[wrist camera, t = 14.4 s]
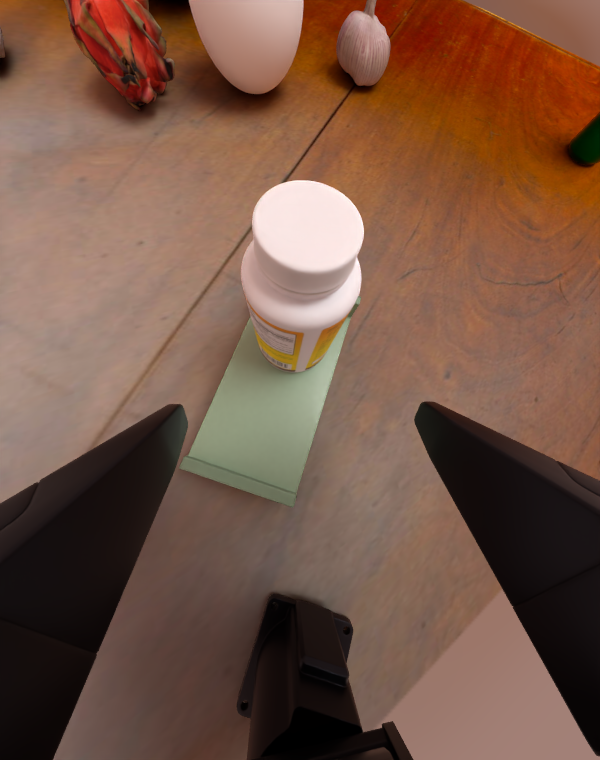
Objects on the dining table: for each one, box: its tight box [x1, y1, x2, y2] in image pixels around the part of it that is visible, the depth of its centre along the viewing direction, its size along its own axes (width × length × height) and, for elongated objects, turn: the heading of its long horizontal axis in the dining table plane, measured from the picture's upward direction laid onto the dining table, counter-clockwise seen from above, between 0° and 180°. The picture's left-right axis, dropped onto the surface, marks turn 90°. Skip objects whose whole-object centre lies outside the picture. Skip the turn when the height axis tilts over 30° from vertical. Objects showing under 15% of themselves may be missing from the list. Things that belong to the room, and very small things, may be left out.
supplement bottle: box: [241, 180, 364, 372], centre depth 12 cm, size 6×6×10 cm
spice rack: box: [179, 296, 361, 507], centre depth 17 cm, size 16×8×5 cm, turn 161°
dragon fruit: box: [64, 0, 175, 111], centre depth 23 cm, size 8×8×12 cm
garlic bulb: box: [337, 0, 390, 86], centre depth 27 cm, size 8×7×8 cm
